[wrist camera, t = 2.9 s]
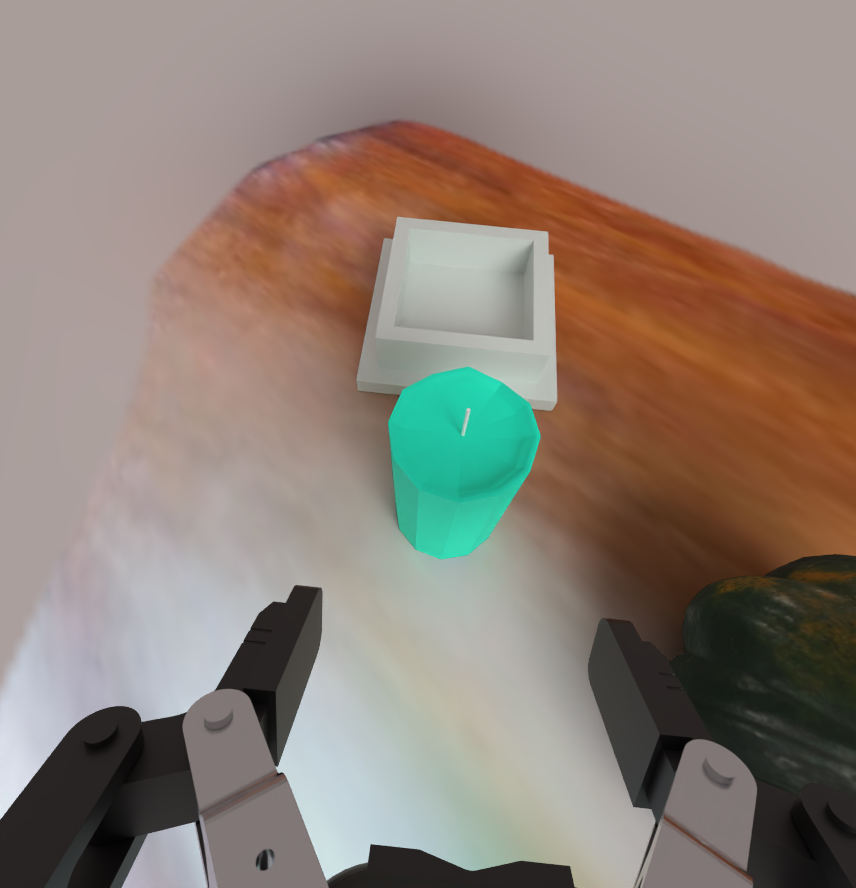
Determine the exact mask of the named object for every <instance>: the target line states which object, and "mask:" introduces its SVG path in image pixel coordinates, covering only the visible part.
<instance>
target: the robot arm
mask: <svg viewBox="0 0 856 888" xmlns="http://www.w3.org/2000/svg"><path fill="white" fill-rule="evenodd" d="M321 633H322V588H319V587H309V586H300V585H295V586H294V588H293V590H292V592H291V594H290V596H289V598H288V600H287V602H286V603H282V602H272V603H271V604H270V605H269V606H268V607H266V608H265V609H264V610H263V611H261V612H260V613H259V614H258V616H257V618H256V620H255V621H254V623H253V625H252V627H251V630H250V631H249V632H248V634H247V635H246V637H245V639H244V642H243V643H242V644H241V646H240V648H239V649H238V651H237V653H236V655H235V657H234V658H233V660H232V662H231V664H230V665H229V667H228V669H227V671H226V672H225V674H224V676H223V678H222V679H221V681H220V683H219V685H218V686H217V688H216V690H215V691H214V692H211V693H209V694H207V695H205V696H203V697H202V698H200V699H199V700H198V701H196V702H195V703H194V704H193V705H192V706H191V707H190V709H189V710H188V712H186V713H183V714H180V715H177V716H172V717H167V718H161V719H156V720H151V721H145V722H141V718H140V716H139V714H138V713H137V711H135V710H134V709H132V708H129V707H124V706H115V707H109V708H105V709H102V710H99V711H97V712H95V713H93V714H91V715H89V716H87V717H85V718H84V719H82V720H81V721H80V722H78V723H77V724H76V725H75V726H74V727H73V728H72V729H71V730H70V731H69V732H68V733H67V734H66V735H65V737H64V738H63V739H62V741H61V742H60V743H59V744H58V746H57V747H56V748H55V750H54V751H53V752H52V754H51V755H50V756H49V757H48V759H47V760H46V761H45V763H44V764H43V765H42V766H41V768H40V769H39V770H38V772H37V773H36V774H35V776H34V777H33V778H32V779H31V781H30V782H29V783H28V785H27V786H26V787H25V789H24V790H23V791H22V792H21V794H20V795H19V796H18V798H17V799H16V800H15V801H14V803H13V804H12V805H11V807H10V808H9V809H8V811H7V812H6V813H5V814H4V816H3V817H2V818H1V820H0V888H122V886H123V884H124V881H125V879H126V877H127V875H128V873H129V871H130V869H131V867H132V865H133V863H134V861H135V859H136V857H137V855H138V853H139V851H140V849H141V847H142V845H143V843H144V840H145V838H146V836H147V834H148V833H152V832H156V831H160V830H164V829H168V828H172V827H176V826H180V825H184V824H188V823H192V822H194V823H195V828H196V833H197V838H198V843H199V849H200V854H201V859H202V864H203V869H204V874H205V880H206V885H207V888H576V887H574V883H573V878H572V874H571V869H570V866H563V865H554V864H545V863H536V862H527V861H518V862H513V863H509V864H504V865H500V866H495V867H490V868H486V869H481V870H477V871H469V870H465V869H463V868H461V867H458V866H456V865H454V864H452V863H449V862H447V861H445V860H442V859H440V858H438V857H435V856H433V855H431V854H428V853H426V852H424V851H421V850H418V849H409V848H400V847H391V846H381V845H372V844H371V846H370V853H369V860H368V863H364V864H359V865H356V866H353V867H351V868H348V869H345V870H344V871H342V872H340V873H338V874H336V875H334V876H333V877H331V878H330V879H329V880H327V881H326V879H325V876H324V874H323V871H322V868H321V866H320V863H319V861H318V858H317V855H316V853H315V850H314V847H313V845H312V842H311V840H310V837H309V834H308V832H307V829H306V827H305V824H304V821H303V819H302V816H301V814H300V811H299V808H298V806H297V803H296V800H295V798H294V795H293V793H292V790H291V787H290V785H289V782H288V780H287V778H286V776H285V775H284V773H282V772H281V773H278V772H277V770H276V767H275V766H277V767H278V765H279V762H280V759H281V756H282V753H283V750H284V747H285V745H286V742H287V739H288V736H289V733H290V730H291V728H292V725H293V722H294V719H295V716H296V713H297V711H298V708H299V705H300V702H301V699H302V696H303V693H304V691H305V688H306V685H307V682H308V679H309V676H310V674H311V671H312V668H313V665H314V662H315V659H316V657H317V654H318V650H319V646H320V641H321ZM588 674H589V680H590V684H591V687H592V690H593V693H594V696H595V699H596V702H597V704H598V707H599V710H600V713H601V716H602V719H603V722H604V724H605V727H606V730H607V733H608V736H609V739H610V742H611V744H612V747H613V750H614V753H615V756H616V759H617V762H618V764H619V767H620V770H621V773H622V776H623V779H624V782H625V784H626V787H627V790H628V793H629V796H630V799H631V802H632V804H633V807H639V808H648V809H652V812H653V814H654V817H655V820H656V821H655V824H654V826H653V829H652V832H651V835H650V838H649V841H648V844H647V847H646V850H645V853H644V856H643V859H642V862H641V865H640V868H639V871H638V874H637V877H636V880H635V883H634V886H633V888H856V801H855V800H854V799H853V798H851V797H850V796H848V795H847V794H845V793H843V792H841V791H840V790H838V789H835V788H833V787H831V786H828V785H825V784H821V783H808V784H806V785H804V786H803V787H802V789H801V791H800V793H799V795H798V796H797V795H795V794H792V793H790V792H787V791H785V790H782V789H779V788H777V787H774V786H772V785H769V784H767V783H764V782H762V781H759V780H757V779H755V778H754V777H753V775H752V774H751V772H750V770H749V769H748V768H747V766H746V765H745V764H744V763H743V762H742V761H741V760H740V759H739V758H738V757H737V756H736V755H735V754H733V753H732V752H731V751H729V750H728V749H726V748H725V747H723V746H721V745H719V744H717V743H715V742H714V741H713V739H712V737H711V735H710V734H709V732H708V730H707V728H706V727H705V725H704V723H703V722H702V720H701V718H700V716H699V715H698V713H697V711H696V709H695V708H694V706H693V704H692V702H691V701H690V699H689V697H688V695H687V694H686V692H685V691H683V687H682V685H681V683H680V681H679V680H678V678H677V677H675V673H674V671H673V669H672V668H671V666H670V664H669V662H668V661H667V659H666V657H665V656H664V655H663V654H662V653H661V652H660V651H659V650H657V649H656V648H655V647H654V646H653V645H652V644H651V643H650V642H643V641H642V640H641V639H640V637H639V635H638V633H637V631H636V629H635V627H634V626H633V624H632V623H631V622H630V621H625V620H615V619H606V618H602V619H601V620H600V622H599V625H598V628H597V632H596V636H595V639H594V643H593V647H592V650H591V654H590V658H589V663H588Z"/></svg>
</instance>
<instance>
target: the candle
mask: <svg viewBox="0 0 856 888" xmlns="http://www.w3.org/2000/svg"><path fill="white" fill-rule="evenodd" d="M388 427H389V438H390V449H391V460H392V471H393V481H394V492H395V503H396V510H397V518H398V525H399V529H400V531H401V532H402V533H403V534H404V536H405V537H406V538H407V539H408V541H409V542H410V543H411V544H412V546H413V547H414V548H415V549H416V550H418V551H421V552H423V553H426V554H429V555H431V556H434V557H436V558H439V559H446V558H453V557H459V556H465V555H468V554H470V553H471V552H472V551H473V550H474V549H476V548H477V547H478V546H479V545H480V544H481V543H483V542H484V541H485V540H486V539H487V538H488V537H489V535H490V534H491V532H492V531H493V529H494V527H495V526H496V524H497V523H498V521H499V520H500V518H501V516H502V515H503V513H504V512H505V510H506V509H507V507H508V505H509V504H510V502H511V501H512V499H513V498H514V496H515V494H516V493H517V491H518V490H519V488H520V487H521V485H522V483H523V482H524V480H525V479H526V477H527V476H528V474H529V472H530V470H531V467H532V464H533V460H534V457H535V454H536V451H537V447H538V444H539V441H540V438H541V436H540V432H539V429H538V426H537V423H536V420H535V417H534V414H533V411H532V407H531V404H530V403H529V402H528V401H526V400H525V399H524V398H522V397H521V396H520V395H518V394H517V393H516V392H514V391H513V390H512V389H511V388H509V387H508V386H507V385H505V384H504V383H503V382H501V381H498V380H496V379H494V378H492V377H490V376H488V375H486V374H484V373H482V372H479V371H477V370H475V369H473V368H471V367H469V366H468V367H463V368H459V369H454V370H449V371H445V372H440V373H435V374H431V375H429V376H428V377H426V378H424V379H422V380H420V381H418V382H416V383H414V384H412V385H410V386H408V387H407V388H405V389H403V390H402V392H401V395H400V397H399V399H398V401H397V403H396V406H395V408H394V410H393V412H392V414H391V417H390V419H389V421H388Z"/></svg>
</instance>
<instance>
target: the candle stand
mask: <svg viewBox="0 0 856 888" xmlns="http://www.w3.org/2000/svg"><path fill="white" fill-rule="evenodd" d="M468 366H469V367H471V368H473V369H475V370H477V371H479V372H482V373H484V374H486V375H488V376H490V377H492V378H494V379H496V380H498V381H501V382H503V383H504V384H505V385H507V386H508V387H509V388H511V389H512V390H513V391H514V392H516V393H517V394H518V395H520V396H521V397H522V398H524V399H525V400H526V401H528V402H529V403H530V404H531V407H532V409H538V410H548V411H552V410H553V408H554V406H555V405H556V403H557V375H556V335H555V295H554V255H548V232H545V231H535V230H525V229H515V228H505V227H495V226H485V225H475V224H465V223H455V222H445V221H435V220H425V219H415V218H405V217H397V221H396V226H395V232H394V237H393V239H388V238H384V241H383V246H382V251H381V256H380V262H379V267H378V272H377V277H376V282H375V287H374V292H373V297H372V302H371V307H370V312H369V317H368V322H367V328H366V333H365V338H364V343H363V348H362V353H361V358H360V363H359V368H358V373H357V378H356V383H357V389H358V391H365V392H375V393H384V394H394V395H401V392H402V390H403V389H405V388H407V387H408V386H410V385H412V384H414V383H416V382H418V381H420V380H422V379H424V378H426V377H428V376H429V375H431V374H435V373H440V372H445V371H449V370H454V369H459V368H463V367H468Z"/></svg>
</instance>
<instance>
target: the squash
mask: <svg viewBox="0 0 856 888" xmlns="http://www.w3.org/2000/svg"><path fill="white" fill-rule="evenodd" d="M682 636H683V641H684V646H685V649H686V652H684V653H683V654H681V655H679V656H677V657H676V658H674V659H673V660H672V661H670V662H669V664H670V666H671V668H672V669H673V671H674V673H675V677H677V678H678V680H679V681H680V683H681V685H682V687H683V691H685V692H686V694H687V695H688V697H689V699H690V701H691V702H692V704H693V706H694V708H695V709H696V711H697V713H698V715H699V716H700V718H701V720H702V722H703V723H704V725H705V727H706V728H707V730H708V732H709V734H710V735H711V737H712V739H713V741H714V742H715V743H717V744H719V745H721V746H723V747H725V748H726V749H728V750H729V751H731V752H732V753H733V754H735V755H736V756H737V757H738V758H739V759H740V760H741V761H742V762H743V763H744V764H745V765H746V766H747V768H748V769H749V770H750V772H751V774H752V775H753V777H754V778H755V779H757V780H759V781H762V782H764V783H767V784H769V785H772V786H774V787H777V788H779V789H782V790H785V791H787V792H790V793H792V794H795V795H797V796H798V795H799V793H800V791H801V789H802V787H803V786H804V785H806V784H808V783H821V784H825V785H828V786H831V787H833V788H835V789H838V790H840V791H841V792H843V793H845V794H847V795H848V796H850V797H851V798H853V799H854V800H855V801H856V556H849V555H837V554H834V555H822V556H812V557H803V558H801V559H798V560H795V561H793V562H790V563H788V564H786V565H783V566H781V567H779V568H777V569H775V570H773V571H772V572H770V573H768V574H766V575H765V576H741V577H735V578H730V579H724V580H721V581H718V582H715V583H712V584H709V585H707V586H706V587H704V588H703V589H702V590H701V591H700V592H699V593H698V594H697V595H696V596H695V597H694V598H693V599H692V601H691V602H690V603H689V605H688V607H687V609H686V611H685V616H684V621H683V630H682Z"/></svg>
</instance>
